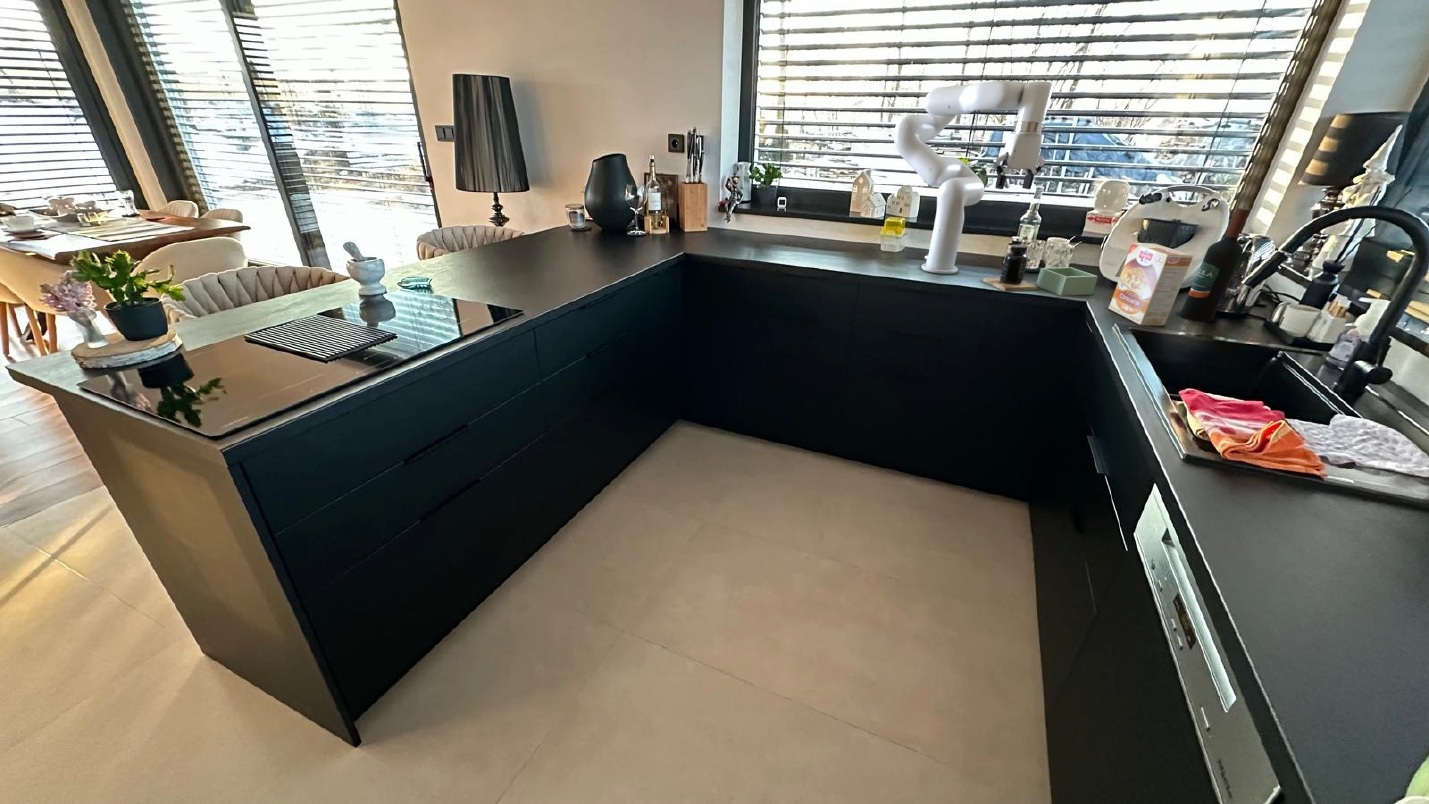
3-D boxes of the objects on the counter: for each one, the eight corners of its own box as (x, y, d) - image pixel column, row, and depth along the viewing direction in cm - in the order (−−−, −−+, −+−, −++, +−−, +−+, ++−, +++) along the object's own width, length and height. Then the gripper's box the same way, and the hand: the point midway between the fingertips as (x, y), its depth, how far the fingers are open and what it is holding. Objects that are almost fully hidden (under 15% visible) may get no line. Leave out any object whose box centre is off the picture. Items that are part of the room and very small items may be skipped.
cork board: (982, 281, 191) (983, 277, 191) (1013, 280, 193) (1014, 276, 193) (1004, 291, 181) (1005, 287, 180) (1037, 290, 183) (1038, 286, 182)
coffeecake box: (1107, 308, 167) (1131, 242, 158) (1131, 309, 167) (1156, 243, 157) (1139, 325, 153) (1167, 254, 144) (1165, 326, 153) (1195, 255, 144)
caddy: (1035, 285, 188) (1040, 268, 185) (1065, 284, 190) (1071, 267, 187) (1060, 295, 178) (1066, 277, 175) (1091, 294, 180) (1098, 276, 177)
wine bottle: (1214, 323, 156) (1265, 212, 142) (1181, 318, 160) (1227, 209, 146) (1210, 316, 162) (1259, 208, 148) (1178, 311, 166) (1223, 206, 152)
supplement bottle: (1017, 279, 189) (1026, 244, 184) (1024, 285, 183) (1035, 248, 178) (996, 278, 190) (1005, 243, 184) (1003, 284, 184) (1013, 247, 178)
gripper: (1044, 128, 173) (1028, 187, 181) (994, 127, 170) (981, 187, 178) (1062, 129, 166) (1044, 190, 174) (1010, 128, 163) (995, 190, 171)
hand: (1012, 188), depth 176 cm, fingers open, 9 cm apart
